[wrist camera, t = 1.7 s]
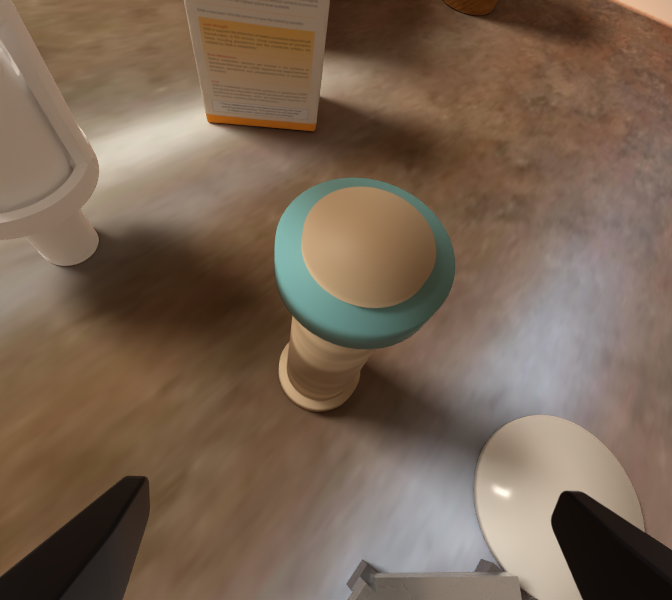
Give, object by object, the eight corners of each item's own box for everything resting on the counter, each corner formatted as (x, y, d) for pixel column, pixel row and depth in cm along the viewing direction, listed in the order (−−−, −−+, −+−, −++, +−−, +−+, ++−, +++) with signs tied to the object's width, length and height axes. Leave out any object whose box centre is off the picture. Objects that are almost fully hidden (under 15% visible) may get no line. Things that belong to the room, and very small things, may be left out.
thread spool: (323, 438, 20) (391, 370, 9) (253, 375, 21) (232, 238, 10) (379, 368, 22) (493, 240, 11) (314, 314, 23) (355, 141, 12)
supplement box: (315, 92, 32) (340, -134, 20) (315, 134, 30) (343, -92, 18) (211, 80, 31) (174, -168, 19) (203, 123, 29) (157, -126, 17)
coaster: (600, 659, 18) (610, 665, 17) (441, 518, 20) (446, 519, 19) (656, 491, 22) (665, 491, 21) (519, 384, 23) (525, 382, 23)
